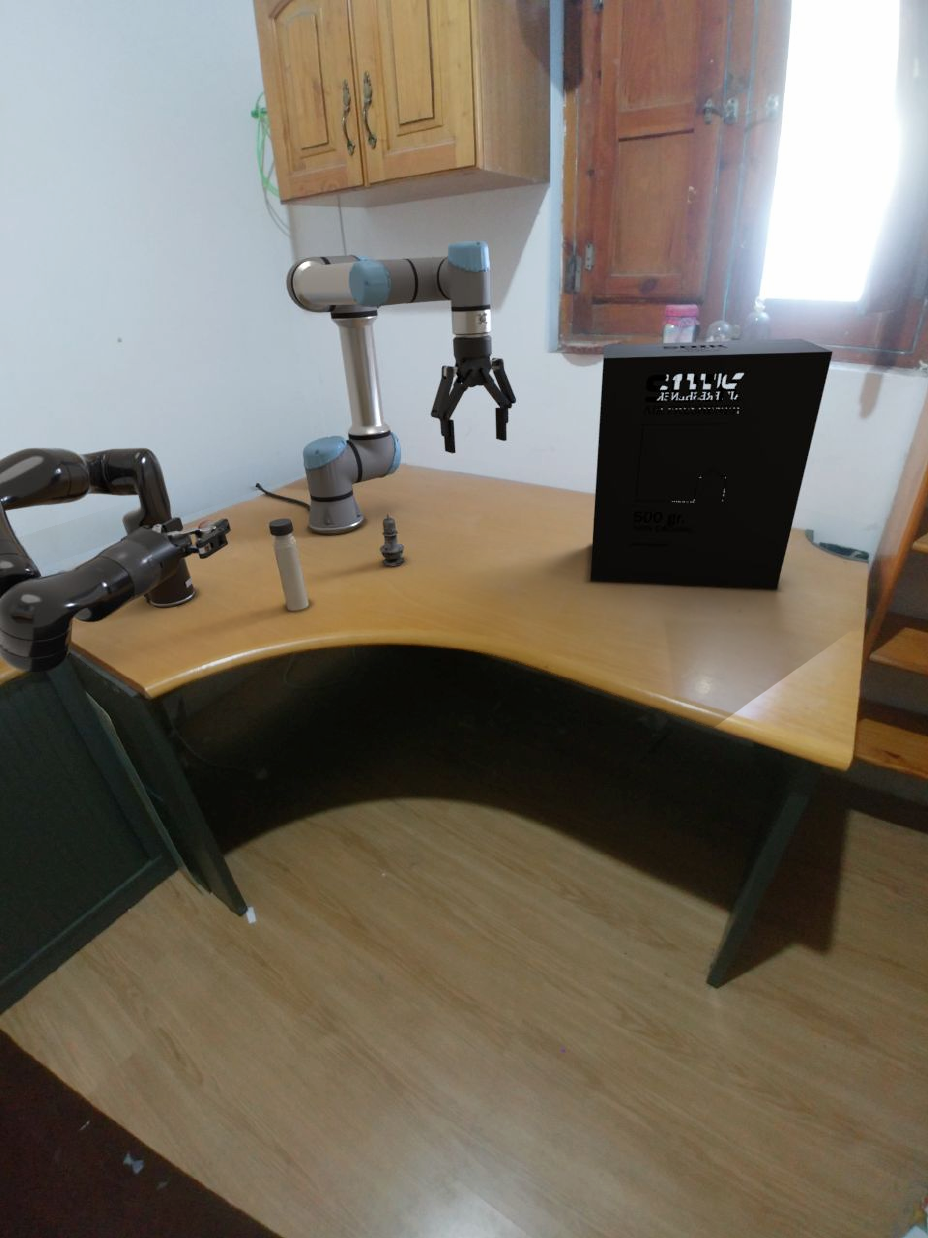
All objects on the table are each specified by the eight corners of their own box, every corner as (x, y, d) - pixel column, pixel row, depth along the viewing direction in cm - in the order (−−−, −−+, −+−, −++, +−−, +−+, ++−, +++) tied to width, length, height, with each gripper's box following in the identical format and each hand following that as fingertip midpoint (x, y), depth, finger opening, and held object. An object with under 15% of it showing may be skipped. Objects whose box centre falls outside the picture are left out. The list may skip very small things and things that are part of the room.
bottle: (302, 611, 126) (284, 528, 117) (283, 610, 127) (264, 527, 118) (312, 601, 130) (296, 520, 121) (293, 599, 131) (276, 519, 122)
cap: (286, 537, 118) (284, 527, 117) (266, 535, 119) (264, 525, 118) (297, 528, 122) (295, 518, 121) (278, 527, 123) (276, 517, 122)
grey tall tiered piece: (401, 567, 143) (396, 519, 137) (378, 566, 144) (371, 518, 138) (408, 556, 148) (403, 510, 142) (385, 556, 149) (379, 509, 143)
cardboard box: (756, 549, 141) (800, 338, 118) (776, 589, 124) (832, 351, 101) (592, 544, 148) (604, 344, 126) (590, 580, 131) (603, 357, 109)
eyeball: (211, 547, 159) (205, 526, 156) (196, 543, 162) (190, 522, 159) (229, 539, 163) (224, 518, 160) (214, 536, 166) (209, 515, 164)
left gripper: (100, 588, 86) (171, 543, 99) (187, 593, 82) (249, 547, 96) (80, 539, 82) (157, 499, 95) (171, 542, 79) (237, 501, 92)
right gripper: (429, 342, 108) (437, 460, 118) (533, 329, 120) (532, 437, 131) (407, 340, 113) (417, 454, 124) (508, 328, 125) (510, 432, 136)
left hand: (203, 523), depth 96 cm, fingers open, 8 cm apart
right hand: (476, 445), depth 127 cm, fingers open, 13 cm apart
